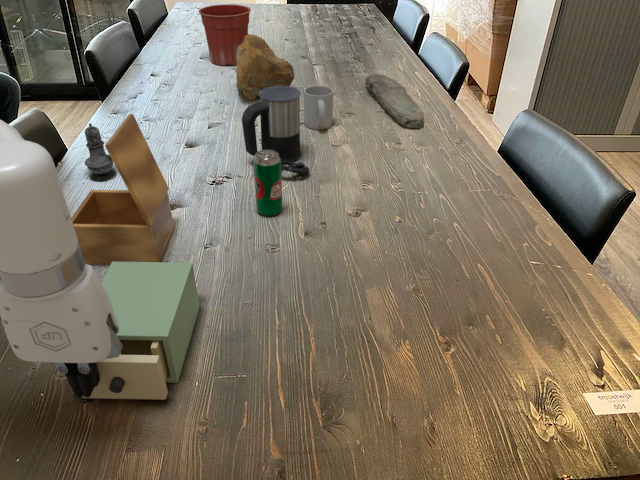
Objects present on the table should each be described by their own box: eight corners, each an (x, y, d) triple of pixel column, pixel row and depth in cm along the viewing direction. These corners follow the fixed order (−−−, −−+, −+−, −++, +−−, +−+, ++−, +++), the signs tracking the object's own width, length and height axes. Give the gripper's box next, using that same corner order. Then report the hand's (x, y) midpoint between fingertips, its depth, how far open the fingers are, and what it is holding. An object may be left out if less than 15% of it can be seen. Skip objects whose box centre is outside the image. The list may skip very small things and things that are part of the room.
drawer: (163, 407, 67) (154, 370, 63) (79, 406, 67) (64, 369, 63) (188, 323, 78) (182, 287, 75) (117, 322, 79) (107, 286, 75)
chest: (77, 264, 91) (64, 226, 86) (101, 226, 100) (91, 189, 96) (157, 265, 91) (149, 227, 86) (174, 227, 100) (167, 190, 96)
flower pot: (206, 53, 187) (200, 4, 178) (253, 52, 188) (250, 3, 179) (202, 69, 174) (196, 16, 164) (254, 67, 175) (251, 15, 166)
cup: (329, 118, 142) (330, 85, 137) (336, 134, 134) (337, 99, 129) (302, 119, 141) (302, 86, 136) (307, 135, 133) (307, 101, 128)
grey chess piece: (83, 180, 114) (68, 127, 107) (97, 168, 119) (83, 116, 112) (109, 183, 113) (96, 130, 106) (122, 170, 118) (110, 118, 111)
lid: (104, 145, 78) (108, 144, 78) (128, 114, 87) (132, 113, 87) (147, 225, 86) (151, 225, 86) (165, 189, 96) (169, 188, 95)
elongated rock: (395, 136, 136) (432, 134, 139) (398, 116, 133) (436, 115, 135) (357, 82, 163) (388, 81, 165) (359, 64, 160) (390, 64, 162)
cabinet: (177, 382, 71) (167, 336, 66) (89, 381, 71) (72, 334, 66) (199, 306, 83) (192, 262, 78) (124, 305, 83) (112, 261, 78)
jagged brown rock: (292, 110, 148) (296, 54, 140) (231, 105, 147) (231, 49, 139) (293, 83, 168) (296, 33, 159) (239, 79, 166) (239, 28, 158)
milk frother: (279, 142, 130) (276, 82, 121) (333, 160, 122) (334, 97, 114) (239, 165, 120) (233, 101, 112) (295, 186, 113) (293, 119, 104)
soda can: (276, 219, 103) (273, 163, 96) (252, 214, 104) (247, 158, 97) (286, 206, 106) (285, 151, 99) (263, 201, 108) (260, 146, 101)
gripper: (-55, 289, 50) (9, 412, 61) (105, 292, 50) (141, 415, 61) (-13, 242, 56) (38, 362, 67) (129, 244, 56) (158, 364, 67)
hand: (87, 387), depth 64 cm, fingers closed
